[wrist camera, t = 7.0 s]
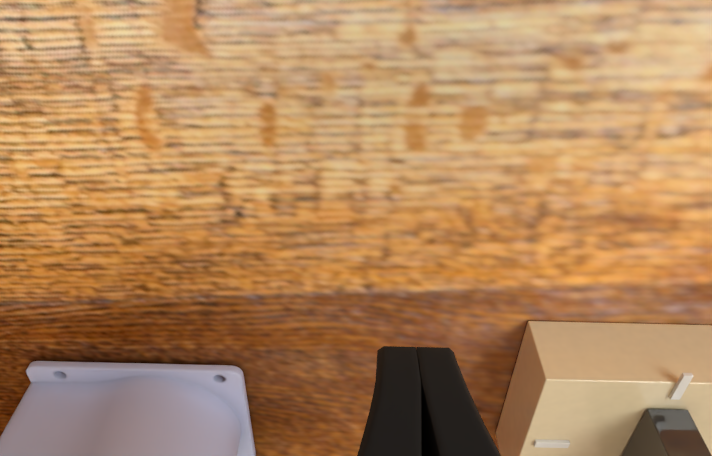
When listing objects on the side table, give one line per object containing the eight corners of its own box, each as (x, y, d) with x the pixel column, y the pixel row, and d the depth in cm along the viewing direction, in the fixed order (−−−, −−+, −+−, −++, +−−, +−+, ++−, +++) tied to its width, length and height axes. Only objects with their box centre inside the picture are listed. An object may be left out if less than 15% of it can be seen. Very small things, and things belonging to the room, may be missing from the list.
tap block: (493, 439, 29) (505, 501, 26) (530, 309, 23) (550, 372, 21) (692, 444, 29) (723, 506, 26) (777, 315, 23) (826, 379, 21)
